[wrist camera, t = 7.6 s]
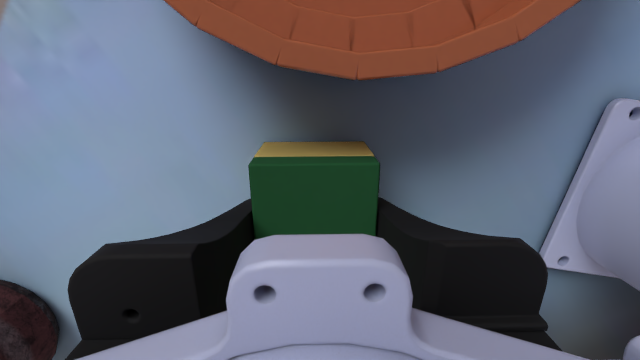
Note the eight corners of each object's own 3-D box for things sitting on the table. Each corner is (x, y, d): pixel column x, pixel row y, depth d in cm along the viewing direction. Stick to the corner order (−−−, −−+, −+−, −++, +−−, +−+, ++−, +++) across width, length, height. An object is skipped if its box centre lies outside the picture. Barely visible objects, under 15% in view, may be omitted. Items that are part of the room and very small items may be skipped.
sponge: (263, 141, 13) (247, 164, 10) (364, 141, 13) (380, 162, 10) (272, 272, 15) (260, 325, 12) (358, 270, 15) (370, 324, 12)
